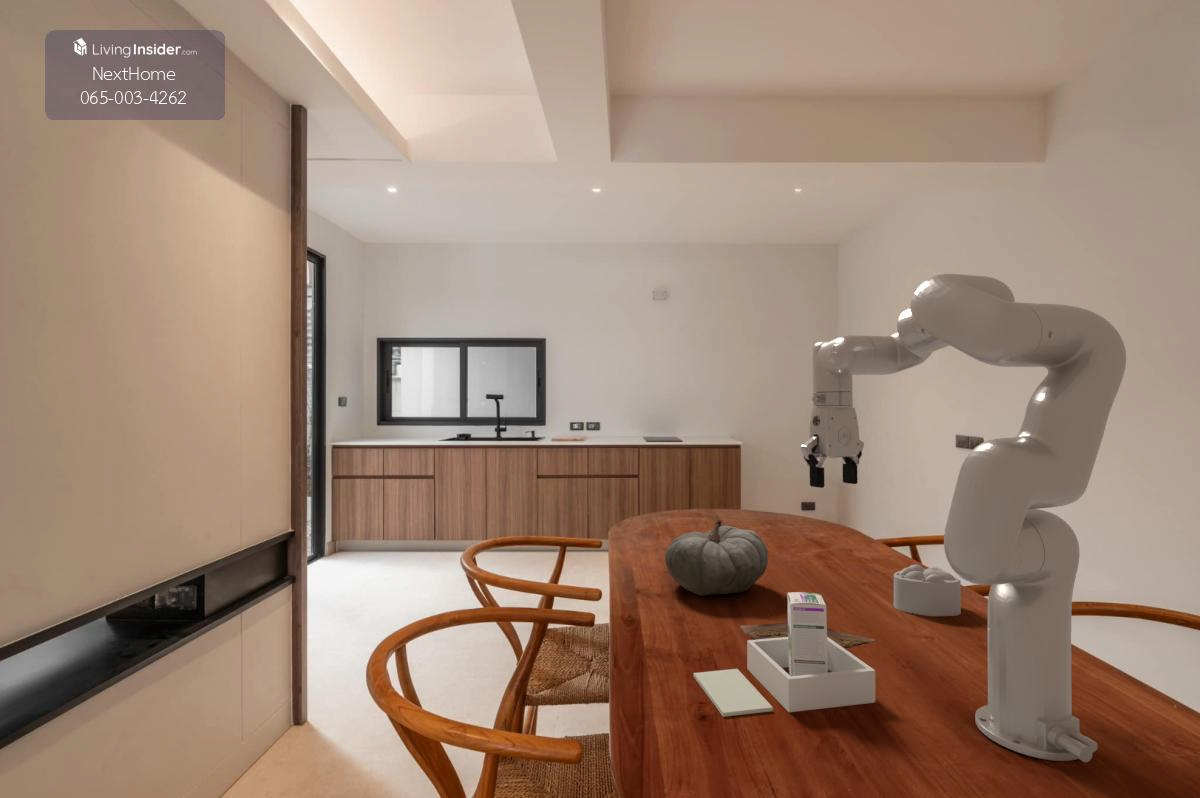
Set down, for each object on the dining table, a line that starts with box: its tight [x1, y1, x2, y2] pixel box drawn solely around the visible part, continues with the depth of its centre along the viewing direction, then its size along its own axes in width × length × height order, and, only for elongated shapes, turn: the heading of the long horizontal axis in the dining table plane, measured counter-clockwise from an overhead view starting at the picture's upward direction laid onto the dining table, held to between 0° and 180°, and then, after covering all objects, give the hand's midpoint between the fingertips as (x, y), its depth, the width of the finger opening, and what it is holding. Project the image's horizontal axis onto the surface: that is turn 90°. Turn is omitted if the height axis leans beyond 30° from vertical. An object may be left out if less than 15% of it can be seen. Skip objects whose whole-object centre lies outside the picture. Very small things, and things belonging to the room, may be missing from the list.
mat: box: [692, 668, 774, 718], centre depth 95 cm, size 13×8×1 cm, turn 11°
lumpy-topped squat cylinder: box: [893, 564, 962, 617], centre depth 133 cm, size 10×13×9 cm
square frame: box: [746, 637, 876, 713], centre depth 98 cm, size 15×15×5 cm
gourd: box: [664, 519, 769, 596], centre depth 147 cm, size 25×25×17 cm
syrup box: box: [786, 591, 829, 676], centre depth 98 cm, size 6×6×14 cm
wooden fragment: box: [739, 621, 877, 649], centre depth 118 cm, size 26×11×1 cm, turn 73°
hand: (833, 485), depth 121 cm, fingers open, 9 cm apart
